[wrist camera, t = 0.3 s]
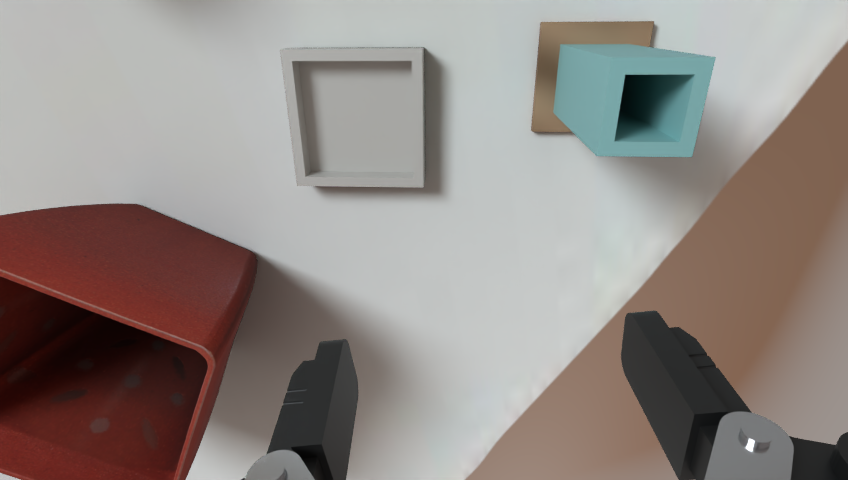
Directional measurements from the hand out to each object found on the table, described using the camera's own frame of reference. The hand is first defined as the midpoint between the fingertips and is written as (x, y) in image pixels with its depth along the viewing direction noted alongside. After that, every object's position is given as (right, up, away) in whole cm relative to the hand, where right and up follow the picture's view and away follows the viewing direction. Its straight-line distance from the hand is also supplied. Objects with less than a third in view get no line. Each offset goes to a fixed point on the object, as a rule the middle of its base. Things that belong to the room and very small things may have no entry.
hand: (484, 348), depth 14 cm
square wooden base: (+11, +16, +23) cm, 30 cm away
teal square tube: (+11, +15, +23) cm, 29 cm away
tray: (-7, +13, +25) cm, 30 cm away
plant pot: (-26, -1, +34) cm, 42 cm away
